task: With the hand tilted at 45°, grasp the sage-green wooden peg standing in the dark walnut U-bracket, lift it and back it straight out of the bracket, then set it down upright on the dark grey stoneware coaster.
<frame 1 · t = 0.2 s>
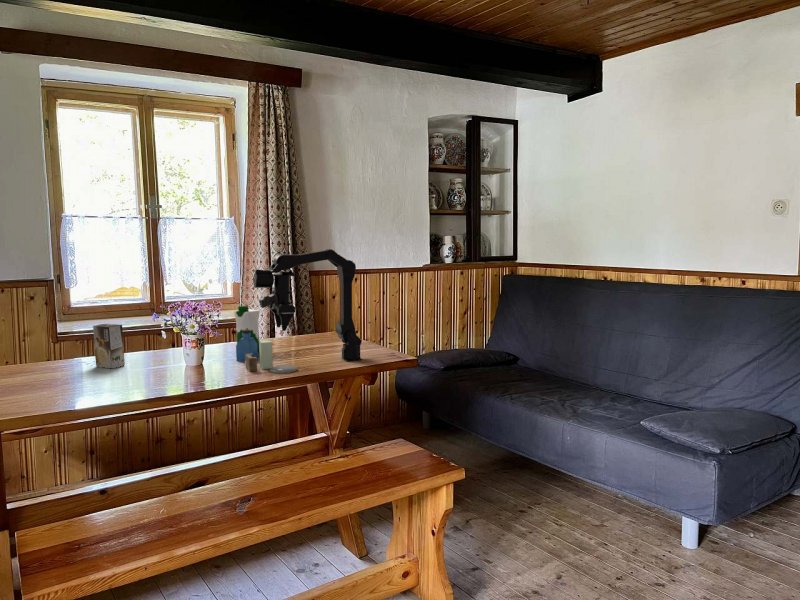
hand: (281, 329, 231), 14 cm above the table, tool pointing down, fingers open, 9 cm apart
walnut U-bracket: (251, 369, 228), on the table
coffee box: (110, 366, 235), on the table
milk carton: (248, 353, 259), on the table
perfume bottle: (247, 360, 245), on the table
stoneware coaster: (283, 370, 226), on the table
sage peg: (266, 367, 231), on the table
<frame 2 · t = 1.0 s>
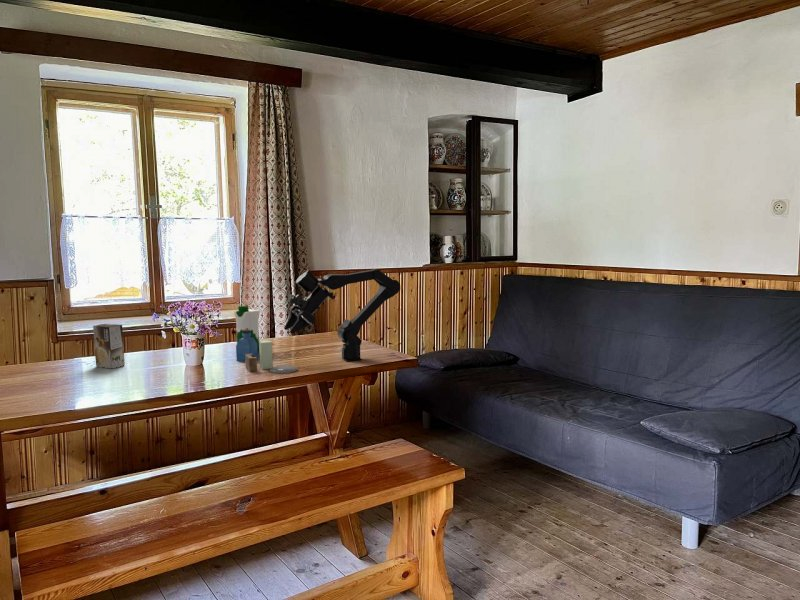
hand: (287, 331, 232), 13 cm above the table, tool tilted 45°, fingers open, 9 cm apart
nothing on the table moved.
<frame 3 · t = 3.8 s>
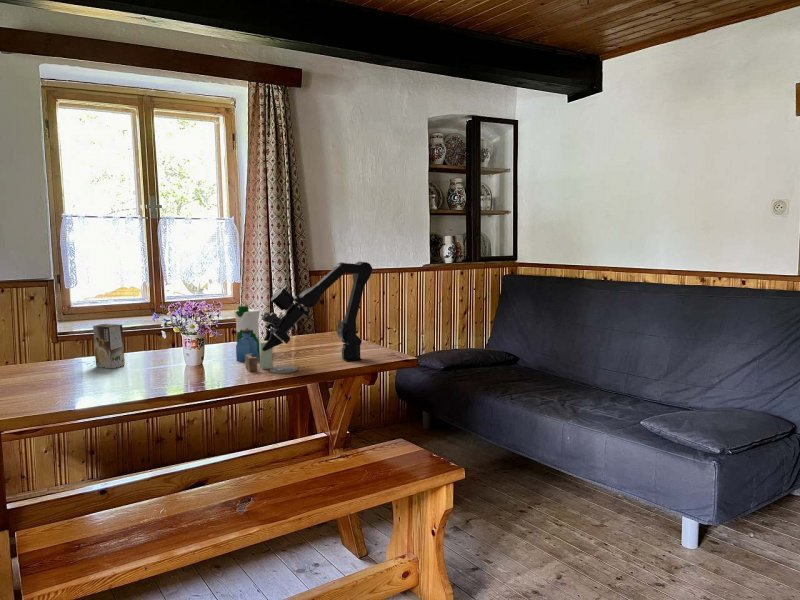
hand: (261, 349, 229), 7 cm above the table, tool tilted 45°, fingers closed on sage peg, 4 cm apart
sage peg: (266, 367, 231), on the table, touching gripper
everything else where it was.
when the fingers open (8 cm above the table, at t = 8.1 s): sage peg stays where it is, resting on stoneware coaster.
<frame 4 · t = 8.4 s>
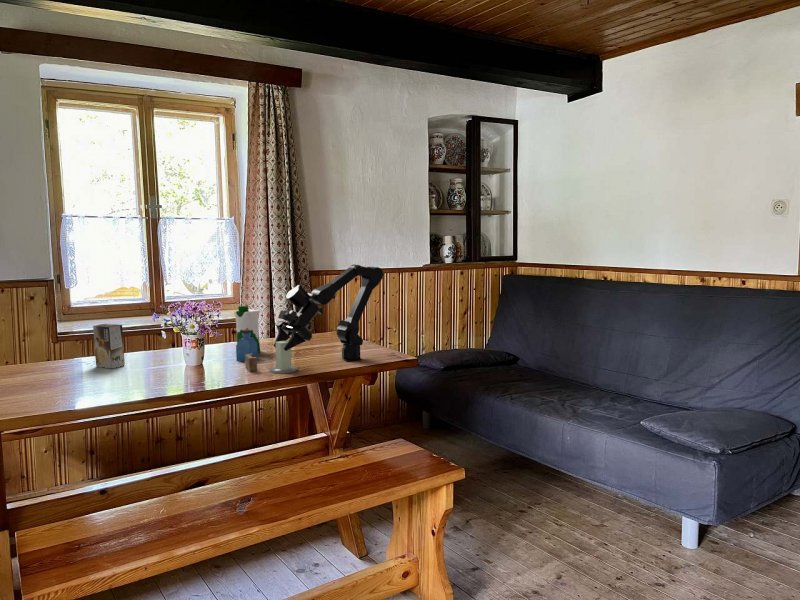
hand: (279, 348, 224), 8 cm above the table, tool tilted 45°, fingers open, 8 cm apart
sage peg: (283, 368, 226), point 1 cm above the table, touching stoneware coaster
everything else where it was.
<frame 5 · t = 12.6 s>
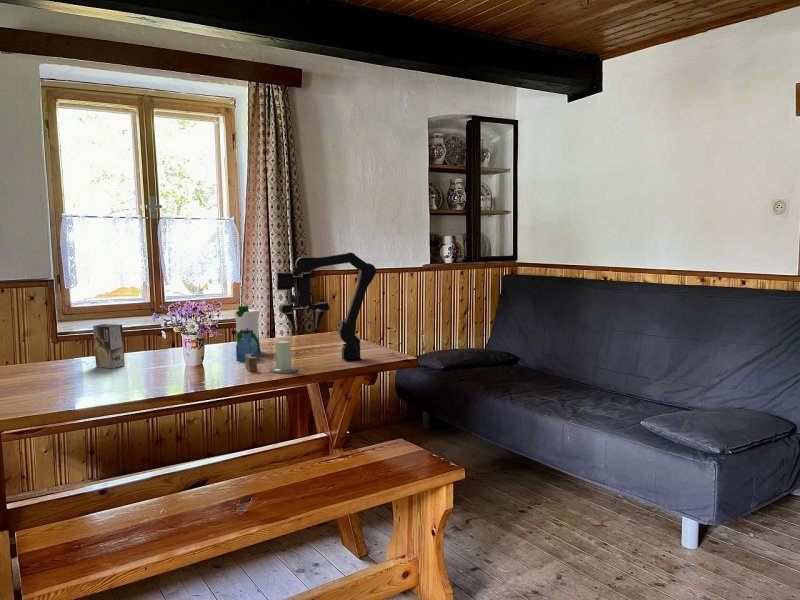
hand: (304, 329, 238), 13 cm above the table, tool pointing down, fingers open, 9 cm apart
nothing on the table moved.
at the end: sage peg 0.0 cm from the stoneware coaster (horizontally); sage peg tilted 0°; the gripper is holding nothing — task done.
